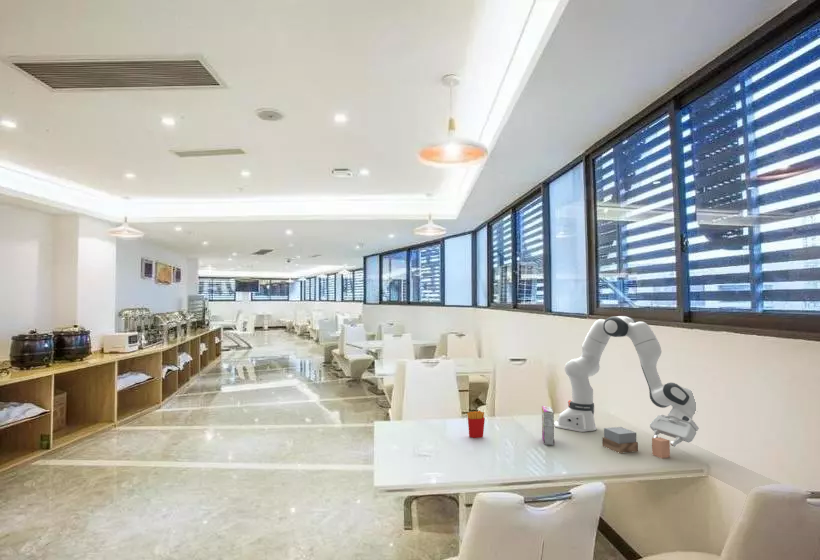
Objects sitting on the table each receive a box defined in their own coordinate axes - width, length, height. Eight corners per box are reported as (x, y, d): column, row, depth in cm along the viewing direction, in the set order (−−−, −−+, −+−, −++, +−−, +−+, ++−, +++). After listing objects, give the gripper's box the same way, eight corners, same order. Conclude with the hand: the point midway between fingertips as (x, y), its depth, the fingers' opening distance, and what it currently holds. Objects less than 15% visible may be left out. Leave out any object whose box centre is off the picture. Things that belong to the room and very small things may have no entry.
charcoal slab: (619, 443, 206) (618, 434, 206) (604, 437, 216) (604, 428, 216) (636, 442, 209) (636, 432, 209) (620, 435, 219) (620, 426, 219)
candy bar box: (541, 438, 227) (541, 405, 228) (551, 438, 226) (551, 406, 227) (543, 444, 216) (543, 411, 217) (554, 445, 215) (554, 411, 216)
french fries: (482, 434, 231) (482, 409, 232) (485, 437, 227) (485, 411, 227) (465, 435, 229) (466, 410, 229) (468, 438, 224) (469, 412, 225)
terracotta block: (661, 458, 199) (661, 441, 200) (652, 454, 204) (652, 438, 204) (669, 457, 201) (669, 440, 201) (660, 453, 206) (660, 437, 206)
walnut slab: (619, 454, 205) (619, 444, 205) (602, 446, 215) (602, 437, 216) (638, 452, 208) (637, 442, 209) (620, 444, 219) (620, 435, 219)
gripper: (655, 409, 216) (640, 431, 212) (695, 420, 197) (679, 444, 193) (662, 418, 217) (648, 440, 214) (702, 429, 198) (687, 453, 194)
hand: (663, 442), depth 203 cm, fingers open, 8 cm apart
